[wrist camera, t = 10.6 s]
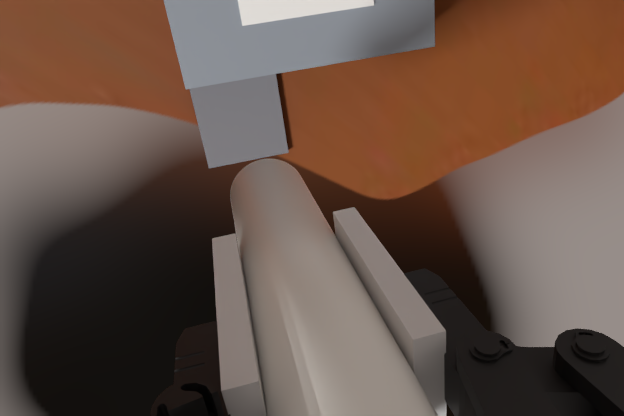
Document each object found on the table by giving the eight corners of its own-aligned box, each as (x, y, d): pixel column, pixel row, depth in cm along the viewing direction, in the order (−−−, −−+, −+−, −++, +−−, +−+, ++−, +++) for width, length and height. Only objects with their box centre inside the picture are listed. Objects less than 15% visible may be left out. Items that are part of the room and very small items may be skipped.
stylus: (237, 236, 22) (352, 921, 6) (221, 166, 20) (315, 833, 4) (310, 219, 22) (606, 806, 6) (300, 150, 21) (658, 689, 5)
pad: (208, 166, 34) (208, 168, 34) (189, 85, 32) (188, 86, 31) (287, 150, 35) (288, 152, 35) (274, 70, 33) (275, 71, 32)
